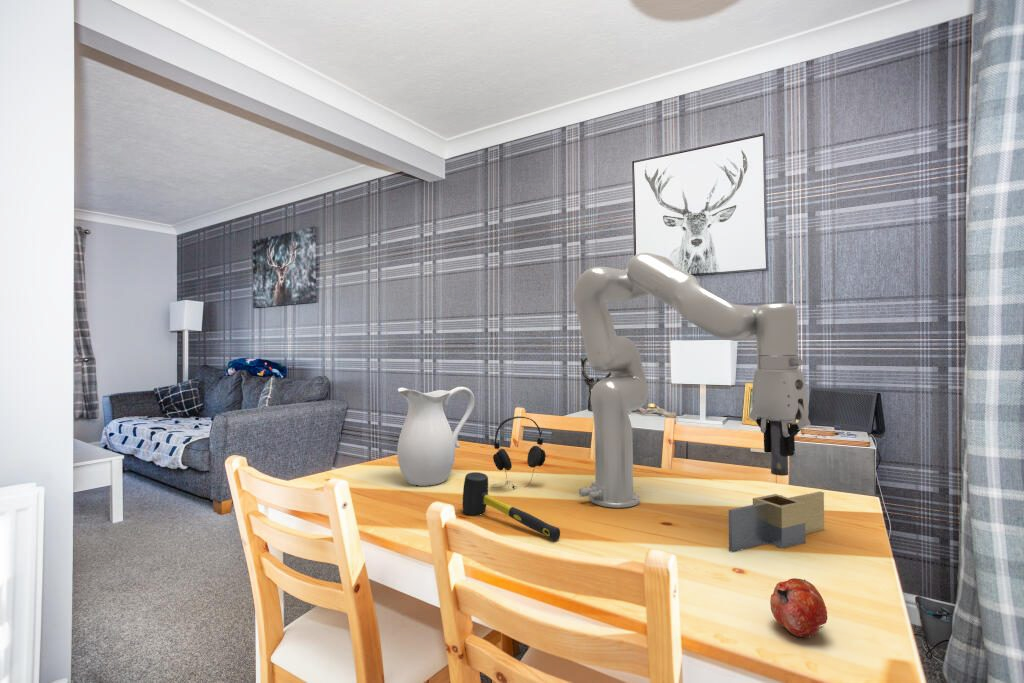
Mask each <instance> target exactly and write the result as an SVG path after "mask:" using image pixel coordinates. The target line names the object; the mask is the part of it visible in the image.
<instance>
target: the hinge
mask: <svg viewBox="0 0 1024 683" xmlns="http://www.w3.org/2000/svg"><path fill="white" fill-rule="evenodd" d="M824 530H825V492H823V491H816V492H811V493H805V494H800V495H795V496H791V497H790V496H789V497H788V496H787V497H786V496H783V495H780V494H777V493H774V494H773V493H772V494H768V495H763V496H758V497H753V498H752V504H750V505H745V506H740V507H736V508H730V509H728V552H731V551H732V552H731V553H734V551H735V552H738V550H739V551H742V550H741V549H743V550H746V548H747V549H750V548H749V547H751V548H755V547H759V546H763V544H764V545H767V543H768V544H770V545H772V546H774V545H775V547H777V548H779V547H780V549H782V548H783V549H786V548H785V547H787V548H789V547H794V546H798V545H801V544H806V535H807V534H808V535H809V534H812V533H815V532H817V533H818V532H820V531H824Z"/></svg>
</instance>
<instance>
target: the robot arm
mask: <svg viewBox="0 0 1024 683" xmlns="http://www.w3.org/2000/svg"><path fill="white" fill-rule="evenodd" d="M647 295H651V296H652V297H654V298H656V299H657V300H659V301H661V302H663V303H664V304H666V305H668V306H670V307H671V308H673V309H674V310H675V312H677V313H678V314H680V316H682V317H683V319H685V320H686V321H688V322H689V323H691V324H693V325H694V326H696V328H697V327H698V328H699V329H701V330H702V331H705V332H706V333H708V334H710V335H711V336H713V337H715V338H718V339H721V340H724V341H744V340H753V339H756V365H757V367H756V370H754V375H753V381H752V389H751V391H752V392H751V411H750V412H749V418H751V420H753V421H754V422H755V423H756V424H757V425H758V427H759V428H760V432H761V433H762V434H763V451H764V453H766V454H770V420H767V418H768V417H769V415H770V416H774V418H775V419H777V420H780V421H781V422H782V431H783V436H781V437H780V447H781V456H783V457H786V456H788V457H792V456H794V455H795V447H796V446H795V437H796V436H798V433H799V432H801V430H802V429H805V428H807V427H810V426H811V421H810V419H809V413H810V412H809V411H810V410H809V399H808V397H809V396H808V391H807V390H808V389H807V384H806V380H805V375H804V373H803V370H802V371H801V370H799V366H803V364H804V363H803V359H801V358H799V342H798V341H799V332H798V330H799V329H798V328H799V326H798V324H799V323H798V308H797V307H796V305H794V304H793V303H790V302H789V303H786V302H784V303H783V302H781V303H777V302H776V303H765V304H761V305H759V306H754V305H752V306H751V305H743V304H736V303H732V302H731V303H730V302H728V301H727V300H725V299H723V298H720V297H719V296H717V295H715V294H713V293H711V292H709V291H708V290H706V289H705V288H703V287H702V286H700V284H699V282H698V278H697V277H695V275H693V274H692V273H688V271H685V270H683V269H682V268H679V267H677V266H676V265H675V264H674V263H673V261H671V260H670V259H669V258H668V257H666V256H664V255H663V256H662V255H659V254H654V253H649V252H641V253H637V254H635V255H633V256H631V258H630V259H629V260H628V262H627V264H626V267H625V269H620V268H619V269H618V268H614V267H607V266H595V267H594V266H593V267H591V268H588V269H586V270H585V271H584V272H582V273H581V275H580V276H579V277H578V279H577V281H576V282H575V286H574V289H573V303H574V308H575V312H576V315H577V318H578V321H579V326H580V330H581V334H582V340H583V345H584V348H585V353H586V357H587V362H588V364H589V367H590V368H591V369H592V370H593V371H594V372H596V373H603V374H605V373H607V374H608V373H611V376H610V377H604V378H602V379H600V380H599V381H597V382H596V383H595V384H594V385H593V387H592V389H591V392H590V405H591V410H592V416H593V423H594V424H593V426H594V471H595V472H594V473H595V475H594V476H595V477H594V478H595V480H594V482H593V481H592V482H591V486H589V487H584V488H579V490H578V494H579V497H589V498H588V499H589V501H590V502H591V503H592V504H595V505H597V506H600V507H606V508H613V509H614V508H617V509H621V508H622V509H623V508H631V507H634V506H637V505H638V504H639V503H640V499H641V498H640V496H639V494H637V493H635V492H634V458H633V457H634V456H633V455H634V448H633V445H634V443H633V442H634V441H633V427H632V422H631V420H630V416H629V412H634V411H637V410H640V409H641V408H642V407H644V406H645V405H646V402H647V401H648V398H649V389H648V382H647V378H646V375H645V368H644V366H643V363H642V361H643V360H642V358H641V354H640V351H639V348H638V347H637V345H636V343H635V342H633V340H631V339H630V338H629V337H626V336H623V335H622V336H621V335H620V336H619V335H617V333H616V328H615V326H614V320H613V317H612V314H611V313H610V311H609V308H608V307H607V306H606V304H605V301H612V302H627V301H631V300H634V299H638V298H642V297H645V296H647ZM797 421H798V422H797Z"/></svg>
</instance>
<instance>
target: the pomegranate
mask: <svg viewBox="0 0 1024 683" xmlns="http://www.w3.org/2000/svg"><path fill="white" fill-rule="evenodd" d="M769 602H770V610H771V613H772V616H773V617H774V619H775V620H776V622H777V623H778V624H779V625H781V626H782V627H784V628H785V627H786V628H785V629H786V630H788V632H789V633H791V634H792V635H794V636H796V637H799V638H804V637H808V638H810V637H812V636H816V635H817V634H818V633H819V627H821V625H825V624H827V621H828V609H827V606H826V604H825V601H824V598H823V596H822V595H821V593H820V591H818V589H817V587H816V586H815V585H814V584H812V583H811V582H810V581H808V580H806V579H802V578H796V577H794V578H790V579H787V580H785V581H779V582H778V583H776V585H775V587H774V590H773V593H772V594H771V596H770V601H769ZM809 636H810V637H809Z"/></svg>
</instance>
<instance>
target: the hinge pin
mask: <svg viewBox="0 0 1024 683" xmlns="http://www.w3.org/2000/svg"><path fill="white" fill-rule="evenodd" d="M767 420H770V453H769V454H770V474H772V475H775V476H789V456H786V457H783V456H781V447H780V437H781V436H783V431H782V422H781V421H780V420H777V419H775V418H774V416H770V415H769V417H768V418H767Z"/></svg>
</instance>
